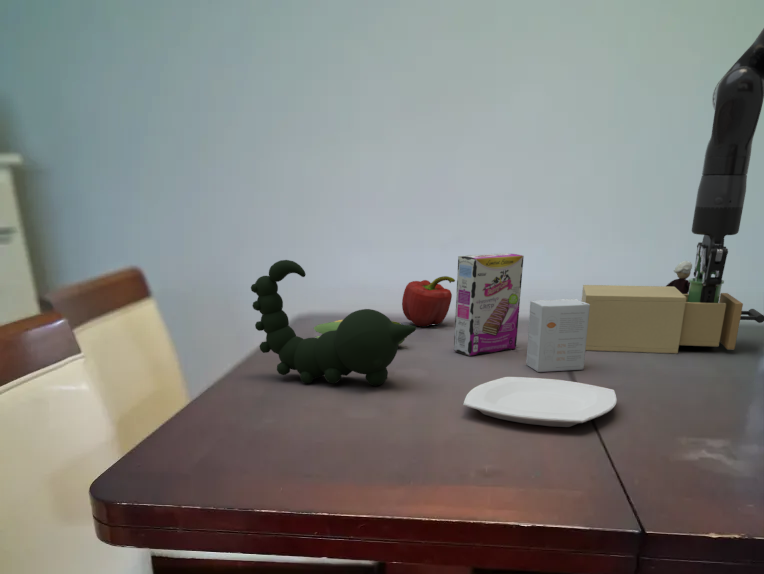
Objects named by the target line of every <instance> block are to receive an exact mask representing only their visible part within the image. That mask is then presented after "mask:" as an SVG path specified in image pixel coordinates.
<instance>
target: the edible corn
mask: <svg viewBox="0 0 764 574" xmlns="http://www.w3.org/2000/svg"><path fill="white" fill-rule="evenodd" d="M342 320H343V319H338V320H334V321H329V322H323V323H319V324H317V325H316V326H314V327H313V330H314V331H315V332H316V333H318V334H321V335H322V334H324V333H325V332H328V331H335V330H337V328H338V326H339V324H340V323H341V321H342ZM391 321H392V322H393V323H394V324H401V323H400V322H399V321H393V320H391ZM321 335H318V336H316V335H315V338H319V337H320V336H321ZM407 337H408V336H407ZM407 337H406V338H404V339H403V340H402V341H400V342H399V344H398V346H399V345H400V344H402V343H403V342H404V341H405V340H406V339H407Z"/></svg>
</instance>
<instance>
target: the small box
mask: <svg viewBox="0 0 764 574" xmlns="http://www.w3.org/2000/svg"><path fill="white" fill-rule="evenodd" d="M589 308H590V304H588V303H585V302H582V300H581V299H577V298H563V299H562V298H561V299H541V300H530V302H529V316H528V330H527V331H528V332H527V346H526V347H527V348H526V362H525V364H526V366H528V367H530V368H531V369H532V370H534V371H535V372H536V373H547V372H548V373H549V372H566V371H580V370H581V371H582V370H584V368H585V361H586V360H585V358H586V350H585V349H586V339H587V328H588V319H589Z"/></svg>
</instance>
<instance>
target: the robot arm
mask: <svg viewBox="0 0 764 574" xmlns="http://www.w3.org/2000/svg"><path fill="white" fill-rule="evenodd" d="M711 104H712V107H713V111H714V113H713V120H712V128H711V135H710V138H709V140H708V142H707V145H706V149H705V153H704V159H703V166H702V172H701V177H700V181H699V185H698V187H697V192H696V200H695V205H694V212H693V218H692V224H691V233H692V234H694V235H699V236H700V235H701V236H703V237H702V242H701V241H699V242H698V243H697V244H696V253H695V254H696V255H695V263H694V272H693V278H703V280H702V290H701V296H700V302H699V303H714V298H715V292H716V287H718V285H720V284H721V282H722V280H723V275H724V271H725V266H726V262H727V257H728V254H729V249H728V248H727V246H725V238H726V236H734V235H737V234H738V233H739V231H740V226H741V221H742V215H743V211H744V210H743V209H744V206H745V205H744V204H745V198H746V192H747V183H748V182H747V181H748V179H747V178H748V173H749V166H750V160H751V155H752V148H753V140H754V136H755V133H756V131H757V126H758V123H759V120H760V117H761V113H762V109H763V104H764V27H763V28H762V30H760V32H759V34H758V35H757V37H756V38H755V40H754V41H753V43H751V45H750V46H749V47H748V48H747V49H746V50H745V51H744V53H743V54H742V55H741V56H740V57H739V58H738V59H737V60H736V62H734V64H732V66H731V67H730V68H729V69H728V70H727V72H726V73H725V74H724V75H723V76H722V77H721V78H720V80H719V81H718V82H717V83H716V85H715V87H714V89H713V92H712V96H711ZM712 275H714V276H712Z"/></svg>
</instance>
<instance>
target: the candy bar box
mask: <svg viewBox="0 0 764 574" xmlns="http://www.w3.org/2000/svg"><path fill="white" fill-rule="evenodd" d="M524 258H525V256H524V255H522V254H517V253H509V252H508V253H507V252H501V253H500V252H499V253H486V254H485V253H484V254H468V255H459V256H457V276H456V279H457V280H456V295H455V316H454V317H455V318H454V319H455V320H454V336H453V337H454V339H453V351H454V352H456V353H458V354H462V355H464V356H468V357H469V356H475V355H484V354H489V353H490V354H491V353H496V352H503V351H508V350H514V349H515V350H516V348H517V339H518V328H519V316H520V303H521V294H522V293H521V292H522V280H523V269H524V268H523V267H524Z"/></svg>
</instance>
